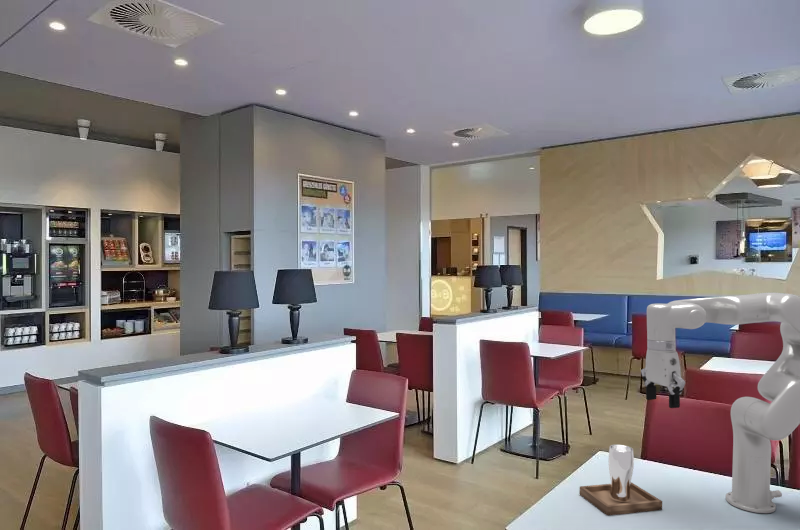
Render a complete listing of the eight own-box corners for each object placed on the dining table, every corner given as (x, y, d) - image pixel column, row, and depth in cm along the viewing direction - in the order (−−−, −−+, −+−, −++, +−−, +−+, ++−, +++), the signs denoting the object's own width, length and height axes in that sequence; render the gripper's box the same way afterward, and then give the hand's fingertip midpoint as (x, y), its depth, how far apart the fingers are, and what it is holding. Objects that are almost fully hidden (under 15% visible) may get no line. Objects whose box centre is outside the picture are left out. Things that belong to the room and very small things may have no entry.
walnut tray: (630, 489, 173) (630, 481, 173) (662, 509, 159) (662, 501, 159) (579, 494, 168) (579, 486, 168) (607, 515, 155) (607, 506, 155)
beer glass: (610, 491, 169) (611, 442, 169) (634, 497, 165) (636, 447, 165) (605, 499, 163) (606, 448, 163) (630, 505, 159) (631, 453, 159)
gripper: (694, 349, 155) (695, 409, 156) (652, 340, 172) (653, 395, 172) (671, 351, 154) (672, 412, 154) (631, 342, 170) (632, 397, 171)
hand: (662, 403), depth 163 cm, fingers open, 9 cm apart
